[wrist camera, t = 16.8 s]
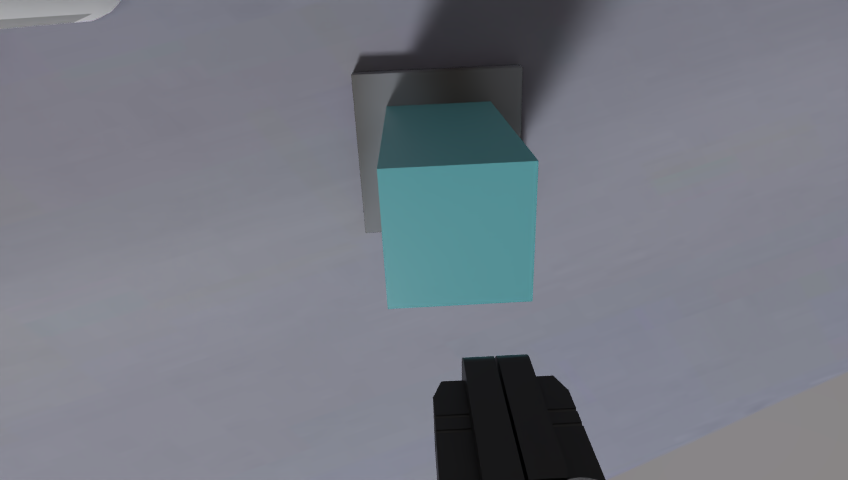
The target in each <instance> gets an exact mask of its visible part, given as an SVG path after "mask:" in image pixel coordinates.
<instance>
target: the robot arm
mask: <svg viewBox="0 0 848 480" xmlns="http://www.w3.org/2000/svg"><path fill="white" fill-rule="evenodd" d="M433 407H434V433H435V454H436V468H437V480H605V477H604V475H603V473H602V470H601V468H600V465H599V463H598V460H597V458H596V456H595V453H594V451H593V448H592V446H591V443H590V441H589V439H588V436H587V434H586V431H585V429H584V426H582V422H581V419H580V417H579V414H578V412H577V411H576V407H575V405H574V402H573V400H572V397H571V395H570V393H569V390H568V389H567V388H566V387H565V386H564V385H562V384H561V383H560V382H559V381H558V380H557V379H556V378H555V377H554V376H537V377H536V375H535V372H534V369H533V366H532V364H531V361H530V358H529V356H528V355H527V354H525V355H505V356H496V357H495V358H494V356H488V357H469V358H462V381H443V382H441V383H440V385H439V387H438V389H437V391H436V393H435V395H434V397H433Z"/></svg>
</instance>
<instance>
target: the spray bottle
mask: <svg viewBox="0 0 848 480" xmlns="http://www.w3.org/2000/svg"><path fill="white" fill-rule="evenodd" d="M120 2H121V0H0V29H8V28H19V27H30V26H41V25H53V24H64V23H75V22H87V21H94V20H96V19H98V18H100V17H102V16H104V15H106V14H108V13H110V12H111V11H112V10H113V9H114V8H115V7H116V6H117V5H118V4H119V3H120Z"/></svg>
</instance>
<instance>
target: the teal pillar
mask: <svg viewBox="0 0 848 480" xmlns="http://www.w3.org/2000/svg"><path fill="white" fill-rule="evenodd" d="M377 178H378V190H379V203H380V215H381V228H382V241H383V253H384V266H385V279H386V291H387V304H388V309H395V308H414V307H432V306H451V305H470V304H489V303H508V302H526V301H532V298H533V275H534V252H535V228H536V205H537V182H538V160H537V159H536V157H535V156H534V155H533V154H532V152H531V151H530V150H529V149H528V147H527V146H526V145H525V144H524V142H523V141H522V140H521V139H520V137H519V136H518V135H517V134H516V132H515V131H514V130H513V129H512V127H511V126H510V125H509V124H508V122H507V121H506V120H505V119H504V117H503V116H502V115H501V114H500V112H499V111H498V110H497V109H496V107H495V106H494V105H493V104H492V102H491V101H488V102H467V103H447V104H426V105H405V106H386V113H385V119H384V126H383V132H382V139H381V145H380V152H379V158H378V165H377Z"/></svg>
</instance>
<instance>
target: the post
mask: <svg viewBox="0 0 848 480" xmlns="http://www.w3.org/2000/svg"><path fill="white" fill-rule="evenodd" d="M522 75H523V67H522V66H520V65H504V66H482V67H460V68H439V69H417V70H396V71H374V72H353V73H352V75H351V78H352V89H353V100H354V111H355V122H356V133H357V144H358V155H359V166H360V177H361V188H362V199H363V210H364V221H365V232H366V233H374V232H382V228H381V215H380V203H379V190H378V178H377V165H378V158H379V152H380V145H381V139H382V132H383V126H384V119H385V113H386V106H405V105H426V104H447V103H467V102H488V101H491V102H492V104H493V105H494V106H495V107H496V109H497V110H498V111H499V112H500V114H501V115H502V116H503V117H504V119H505V120H506V121H507V122H508V124H509V125H510V126H511V127H512V129H513V130H514V131H515V132H516V134H517V135H518V136H519V137H520V139H521V107H522Z"/></svg>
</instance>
